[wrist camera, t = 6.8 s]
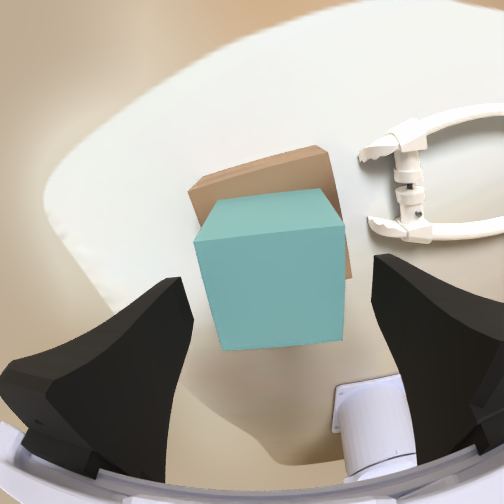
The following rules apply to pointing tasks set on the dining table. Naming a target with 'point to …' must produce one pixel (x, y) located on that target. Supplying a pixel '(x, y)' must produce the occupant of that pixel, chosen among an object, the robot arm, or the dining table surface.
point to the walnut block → (270, 182)
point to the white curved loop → (409, 171)
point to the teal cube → (274, 269)
